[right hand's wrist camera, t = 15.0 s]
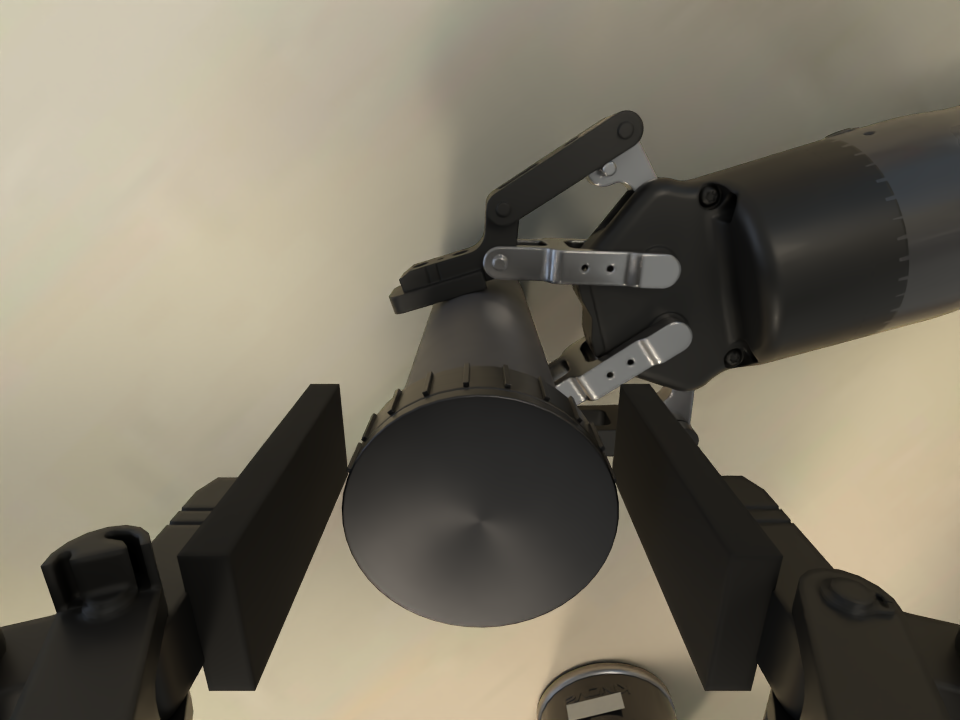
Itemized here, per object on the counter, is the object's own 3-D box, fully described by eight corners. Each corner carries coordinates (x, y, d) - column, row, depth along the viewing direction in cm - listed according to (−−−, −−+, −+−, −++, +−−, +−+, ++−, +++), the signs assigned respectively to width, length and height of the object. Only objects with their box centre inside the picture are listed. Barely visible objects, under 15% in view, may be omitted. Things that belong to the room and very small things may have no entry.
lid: (657, 473, 12) (681, 516, 11) (483, 614, 13) (484, 670, 12) (476, 307, 11) (475, 329, 9) (304, 482, 12) (280, 527, 11)
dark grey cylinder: (488, 362, 28) (498, 618, 12) (418, 312, 27) (331, 518, 11) (542, 296, 27) (633, 484, 11) (471, 241, 26) (458, 360, 10)
